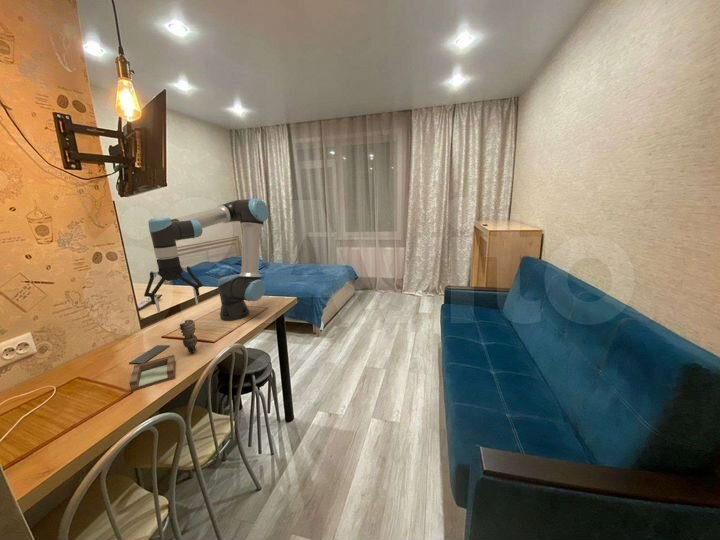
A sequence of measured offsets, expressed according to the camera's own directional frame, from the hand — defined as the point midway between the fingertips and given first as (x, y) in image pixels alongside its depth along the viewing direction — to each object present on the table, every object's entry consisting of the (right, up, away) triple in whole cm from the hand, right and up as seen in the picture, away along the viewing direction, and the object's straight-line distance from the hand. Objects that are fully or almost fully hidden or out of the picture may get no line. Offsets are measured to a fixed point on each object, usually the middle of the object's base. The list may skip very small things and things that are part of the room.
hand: (178, 307), depth 120 cm
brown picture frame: (-2, -25, -11) cm, 27 cm away
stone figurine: (+3, -21, +5) cm, 21 cm away
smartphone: (-16, -22, +6) cm, 27 cm away
